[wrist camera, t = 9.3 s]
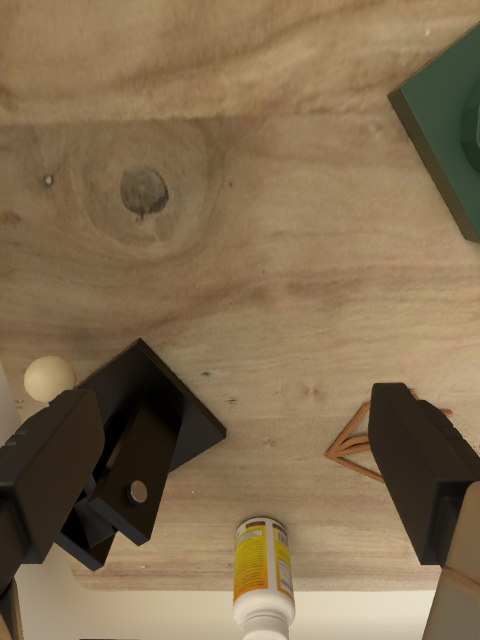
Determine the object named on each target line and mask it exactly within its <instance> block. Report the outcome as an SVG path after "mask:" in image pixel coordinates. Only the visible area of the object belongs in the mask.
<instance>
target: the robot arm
mask: <svg viewBox="0 0 480 640" xmlns="http://www.w3.org/2000/svg"><path fill="white" fill-rule="evenodd" d="M368 439H369V445H370V449H371V452H372V454H373V456H374V459H375V461H376V463H377V466H378V468H379V470H380V472H381V475H382V477H383V479H384V482H385V484H386V486H387V488H388V491H389V493H390V495H391V498H392V500H393V502H394V504H395V507H396V509H397V511H398V514H399V516H400V518H401V520H402V523H403V525H404V527H405V530H406V532H407V534H408V536H409V539H410V541H411V543H412V546H413V548H414V550H415V552H416V555H417V557H418V559H419V562H420V564H421V565H440V566H441V568H442V572H441V575H440V579H439V582H438V586H437V589H436V593H435V596H434V599H433V603H432V607H431V610H430V613H429V617H428V620H427V624H426V627H425V630H424V634H423V638H422V640H480V457H479V456H478V455H477V453H476V452H475V451H474V450H473V449H472V447H471V446H470V445H469V444H468V442H467V441H466V440H465V439H463V438H462V435H461V434H460V433H459V431H458V430H457V429H456V428H454V427H453V424H452V423H451V422H450V420H449V419H448V418H447V417H446V416H445V414H444V413H443V412H442V411H441V410H439V409H438V408H436V407H435V406H433V405H432V404H430V403H429V402H427V401H426V400H416V398H415V397H414V396H413V394H412V393H411V392H410V390H409V389H408V388H407V386H406V385H405V384H404V383H402V382H399V383H375V384H374V385H373V387H372V394H371V404H370V414H369V424H368ZM104 443H105V434H104V429H103V424H102V420H101V415H100V411H99V406H98V402H97V397H96V394H95V392H94V391H93V390H92V389H76V390H64V391H63V392H61V394H60V395H59V396H58V397H57V398H56V399H55V400H54V401H53V403H52V404H51V405H50V406H49V407H45V408H44V409H42V410H40V411H39V412H37V413H36V414H34V415H33V416H31V417H30V418H28V419H27V420H26V421H25V422H24V423H23V424H22V425H21V426H20V428H19V429H18V430H17V431H16V432H15V435H12V436H11V437H10V438H9V439H8V440H7V442H6V443H5V446H2V447H1V448H0V640H24V637H23V630H22V623H21V615H20V606H19V599H18V591H17V584H16V581H15V578H14V575H15V573H16V572H17V570H18V568H19V567H20V565H21V564H42V563H43V561H44V560H45V558H46V556H47V554H48V552H49V550H50V548H51V547H52V545H53V543H54V541H55V539H56V538H57V536H58V534H59V532H60V530H61V528H62V527H63V525H64V523H65V521H66V519H67V517H68V516H69V514H70V512H71V510H72V508H73V506H74V504H75V503H76V501H77V499H78V497H79V495H80V493H81V492H82V490H83V488H84V486H85V484H86V482H87V481H88V479H89V477H90V475H91V473H92V471H93V470H94V468H95V466H96V464H97V462H98V460H99V459H100V457H101V455H102V452H103V449H104ZM80 640H111V639H80ZM112 640H113V639H112Z"/></svg>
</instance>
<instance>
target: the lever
mask: <svg viewBox="0 0 480 640" xmlns="http://www.w3.org/2000/svg"><path fill="white" fill-rule="evenodd" d="M76 378H77V377H76V371H75V369H74V367H73V365H72V364H71V363H70V362H69V361H68V360H66V359H65V358H62V357H59V356H45V357H41V358H39V359H37V360H36V361H34V362H33V363H32V364H31V365H30V366H29V367H28V369H27V370H26V372H25V376H24V386H25V389H26V391H27V393H28V394H29V395H30V396H31V397H32V398H33V399H35V400H37V401H39V402H43V403H49V405H51V404H52V403H53V401H54V400H55V399H56V398H57V397H58V396H59V395H60V394H61V392H63V391H64V390H73V389H74V387H75V384H76ZM102 473H103V471H102V469H101V467H100V464H99V462H97V464H96V466H95V468H94V470H93V471H92V473H91V475H90V477H89V479H88V481H87V482H86V484H85V486H84V491H85V493H86V496H87V497H85V498H83V499H82V500H80V501H79V502H77V503H76V504H74V508H75V511H76V513H77V516H78V518H79V521H80V524H81V526H82V529H83V531H84V534H85V536H86V539H87V541H88V544H89V546H90V547H93V546H95V545H96V544H98V543H100V542H102V541H103V540H105V539H107V538H108V537H110V536H112V535H113V534H115V533H116V532H118V531H119V530H118V529H117V528H115V527H114V526H113V525H112V524H111V523H109V522H108V521H107V520H106V519H105V518H103V517H102V516H101V515H100V514H99V513H97V512H96V511H95V510H94V509H92V508H91V507H90V506H89V505H88V504H87V503H88V501H89V499H90V497H91V495H92V493H93V491H94V489H95V487H96V485H97V483H98V481H99V479H100V477H101V475H102Z"/></svg>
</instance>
